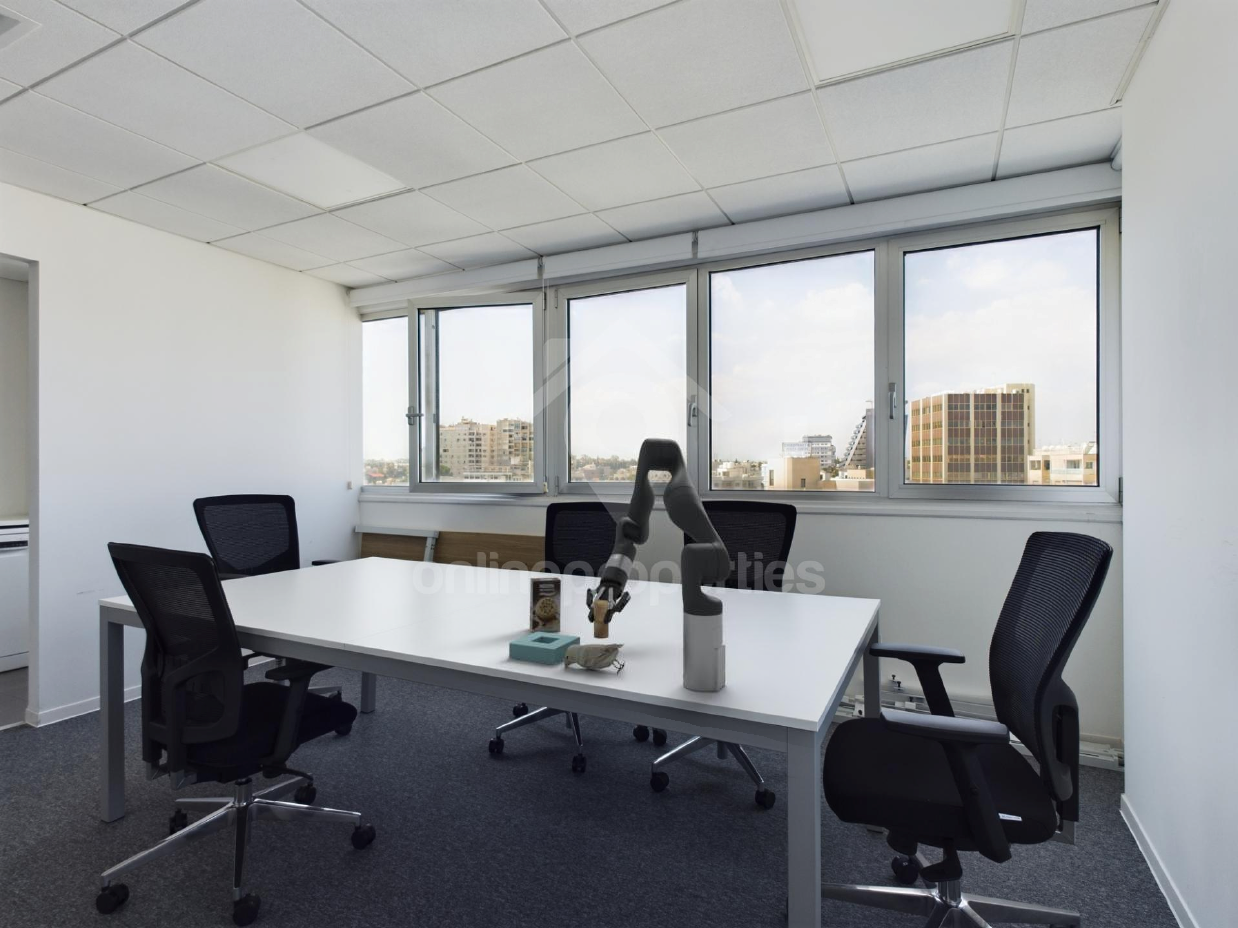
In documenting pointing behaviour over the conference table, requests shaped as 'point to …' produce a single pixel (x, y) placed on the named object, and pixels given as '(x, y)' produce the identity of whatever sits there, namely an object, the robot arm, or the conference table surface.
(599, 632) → the peg
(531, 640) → the socket block
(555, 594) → the coffee box
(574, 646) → the decorative bird
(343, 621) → the conference table surface
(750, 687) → the conference table surface
